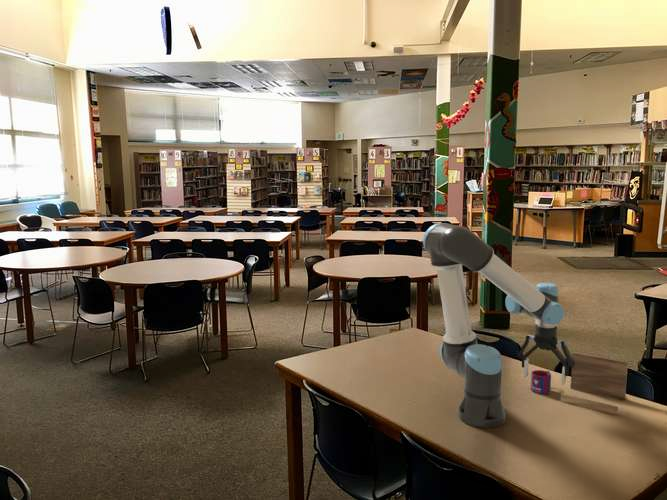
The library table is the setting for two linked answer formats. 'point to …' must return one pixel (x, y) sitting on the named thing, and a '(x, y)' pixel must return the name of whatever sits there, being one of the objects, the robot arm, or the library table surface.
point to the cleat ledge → (589, 404)
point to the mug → (541, 382)
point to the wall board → (599, 375)
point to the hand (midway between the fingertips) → (544, 379)
